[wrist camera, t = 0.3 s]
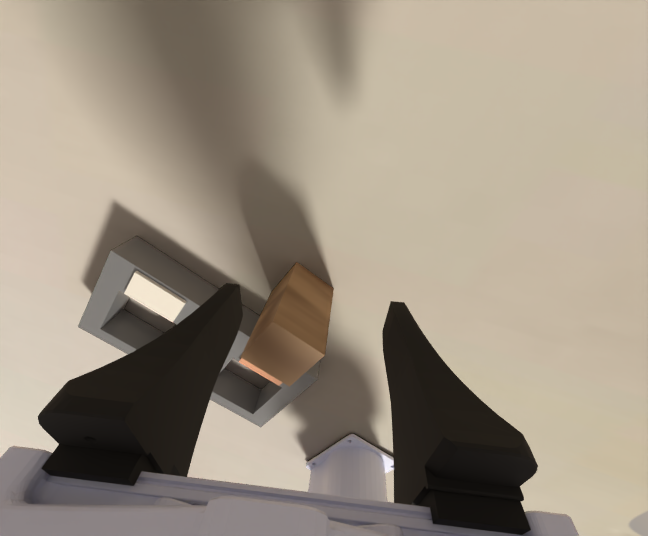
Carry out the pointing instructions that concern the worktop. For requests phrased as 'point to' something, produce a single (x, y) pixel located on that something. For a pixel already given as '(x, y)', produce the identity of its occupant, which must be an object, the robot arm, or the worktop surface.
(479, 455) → the robot arm
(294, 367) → the plug
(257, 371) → the socket block
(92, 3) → the worktop surface
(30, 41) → the worktop surface
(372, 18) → the worktop surface
